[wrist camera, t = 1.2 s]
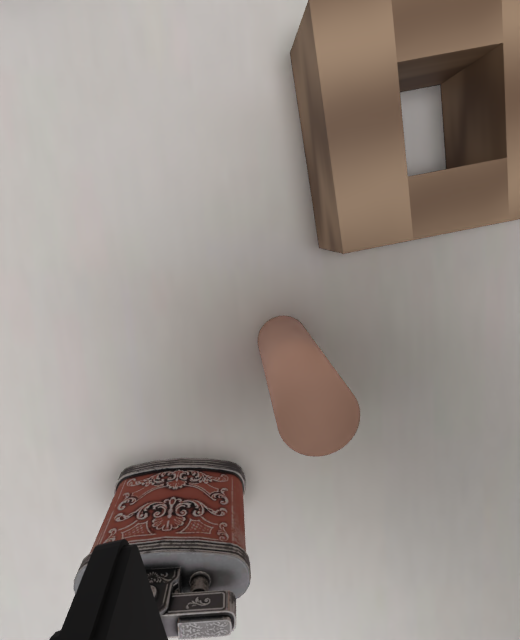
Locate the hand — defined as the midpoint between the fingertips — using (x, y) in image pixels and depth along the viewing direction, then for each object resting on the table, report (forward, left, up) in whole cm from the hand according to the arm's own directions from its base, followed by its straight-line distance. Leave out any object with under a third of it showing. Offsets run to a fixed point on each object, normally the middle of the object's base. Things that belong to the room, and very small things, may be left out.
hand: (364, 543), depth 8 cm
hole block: (+10, -14, -16) cm, 23 cm away
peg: (0, 0, -16) cm, 16 cm away
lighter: (-8, +8, -16) cm, 20 cm away
